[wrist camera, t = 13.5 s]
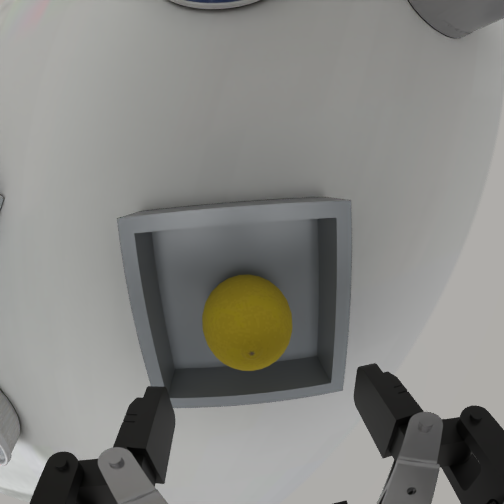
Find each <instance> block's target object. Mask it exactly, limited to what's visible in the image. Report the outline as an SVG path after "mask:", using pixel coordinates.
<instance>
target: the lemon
mask: <svg viewBox="0 0 504 504" xmlns="http://www.w3.org/2000/svg"><path fill="white" fill-rule="evenodd" d="M202 325H203V333H204V336H205V339H206V342H207V344H208V346H209V348H210V350H211V351H212V352H213V354H214V355H215V356H216V358H218V359H219V360H220V361H221V362H222V363H223V364H225V365H227V366H229V367H231V368H234V369H238V370H242V371H254V370H259V369H263V368H265V367H267V366H269V365H271V364H272V363H274V362H275V361H277V360H278V359H279V358H280V357H281V356H282V354H283V353H284V352H285V350H286V348H287V346H288V344H289V342H290V338H291V334H292V313H291V310H290V307H289V305H288V302H287V299H286V298H285V296H284V295H283V294H282V292H281V291H280V289H279V288H277V287H276V286H275V285H274V284H273V283H271V282H270V281H268V280H266V279H264V278H262V277H260V276H255V275H249V274H247V275H237V276H234V277H231V278H228V279H227V280H225V281H223V282H222V283H220V284H219V285H218V286H217V287H216V288H215V289H214V290H213V291H212V292H211V294H210V295H209V297H208V299H207V301H206V303H205V307H204V311H203V315H202Z"/></svg>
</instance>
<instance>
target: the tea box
mask: <svg viewBox="0 0 504 504" xmlns="http://www.w3.org/2000/svg"><path fill="white" fill-rule="evenodd" d="M3 200H4V198H3V197H2V196H1V195H0V209H1V206H2V203H3Z"/></svg>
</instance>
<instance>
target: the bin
mask: <svg viewBox="0 0 504 504" xmlns="http://www.w3.org/2000/svg"><path fill="white" fill-rule="evenodd" d="M117 223H118V231H119V239H120V246H121V253H122V259H123V266H124V272H125V277H126V283H127V288H128V294H129V299H130V304H131V309H132V313H133V318H134V323H135V327H136V331H137V335H138V340H139V344H140V348H141V352H142V355H143V359H144V363H145V367H146V370H147V374H148V377H149V381H150V384H151V386H158V387H166V388H167V391H168V394H169V397H170V401H171V404H172V407H173V408H198V407H221V406H236V405H248V404H258V403H268V402H276V401H284V400H291V399H298V398H304V397H310V396H316V395H322V394H327V393H333V392H338V391H342V390H343V383H344V374H345V365H346V355H347V344H348V331H349V316H350V297H351V268H352V212H351V200H345V199H337V198H330V197H312V198H291V199H273V200H257V201H243V202H230V203H217V204H206V205H195V206H184V207H174V208H165V209H155V210H146V211H139V212H136V213H133V214H130V215H126V216H123V217H120V218H117ZM247 274H249V275H255V276H260V277H262V278H264V279H266V280H268V281H270V282H271V283H273V284H274V285H275V286H276V287H277V288H279V289H280V291H281V292H282V294H283V295H284V296H285V298H286V299H287V302H288V305H289V307H290V310H291V313H292V334H291V338H290V342H289V344H288V346H287V348H286V350H285V352H284V353H283V354H282V356H281V357H280V358H279V359H278V360H277V361H275V362H274V363H272V364H271V365H269V366H267V367H265V368H263V369H259V370H254V371H242V370H238V369H234V368H231V367H229V366H227V365H225V364H223V363H222V362H221V361H220V360H219V359H218V358H216V356H215V355H214V354H213V352H212V351H211V350H210V348H209V346H208V344H207V342H206V339H205V336H204V333H203V325H202V315H203V311H204V307H205V303H206V301H207V299H208V297H209V295H210V294H211V292H212V291H213V290H214V289H215V288H216V287H217V286H218V285H219V284H220V283H222V282H223V281H225V280H227V279H228V278H231V277H234V276H237V275H247Z"/></svg>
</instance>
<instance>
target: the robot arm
mask: <svg viewBox="0 0 504 504" xmlns="http://www.w3.org/2000/svg"><path fill="white" fill-rule="evenodd" d="M409 2H410V3H411V4H412V6H413V7H414V9H415V10H416V11H417V12H418V13H419V14H420V16H421V17H422V18H423V19H424V20H426V21H427V22H428V23H429V24H430V25H431V26H432V27H434V28H435V29H437V30H438V31H440V32H441V33H443V34H445V35H447V36H449V37H453V38H461V37H464V36H466V35H468V34H470V33H472V32H474V31H476V30H478V29H480V28H482V27H485V26H487V25H489V24H491V23H494V22H496V21H498V20H500V19H503V18H504V0H409ZM354 402H355V405H356V408H357V410H358V411H359V413H360V415H361V417H362V419H363V421H364V423H365V425H366V427H367V429H368V431H369V432H370V434H371V436H372V438H373V440H374V442H375V444H376V446H377V448H378V450H379V452H380V454H381V456H382V458H386V457H389V456H393V458H394V462H393V464H392V467H391V470H390V473H389V475H388V478H387V481H386V483H385V486H384V488H383V491H382V493H381V495H380V498H379V500H378V502H377V504H431V502H432V498H433V495H434V491H435V486H436V482H437V478H438V473H439V468H440V467H442V469H443V471H444V473H445V475H446V476H447V478H448V480H449V482H450V484H451V485H452V487H453V489H454V491H455V493H456V495H457V497H458V498H459V500H460V502H461V504H504V430H503V429H502V427H501V426H500V425H499V424H498V423H497V421H496V420H495V419H494V418H493V417H492V416H491V414H490V413H489V412H488V411H487V410H486V409H485V408H483V407H480V406H470V407H467V408H465V409H464V410H463V411H462V413H461V415H460V417H458V418H451V419H441V418H440V417H439V416H438V415H436V414H434V413H431V412H423V410H422V409H421V408H420V406H419V405H418V404H417V402H416V401H415V400H414V398H413V397H412V396H411V395H410V393H409V392H407V389H406V388H405V387H404V386H403V385H402V383H401V382H400V381H399V379H398V378H397V377H396V376H394V375H392V374H391V373H389V372H384V373H383V372H382V371H381V369H380V368H379V367H378V365H377V364H375V363H374V364H369V365H365V366H360V367H358V369H357V375H356V382H355V389H354ZM123 421H124V422H123V423H122V425H121V428H120V430H119V433H118V436H117V438H116V441H115V444H114V446H113V448H110V449H107V450H105V451H104V452H103V453H101V455H100V456H99V458H98V459H92V460H81V461H78V460H77V458H76V457H75V456H74V455H73V454H71V453H69V452H58V453H55V454H54V455H52V456H51V457H50V458H49V459H48V461H47V463H46V465H45V468H44V470H43V472H42V474H41V477H40V479H39V482H38V484H37V486H36V489H35V491H34V494H33V496H32V499H31V501H30V504H168V503H167V502H166V500H165V499H164V498H163V497H162V495H161V494H160V493H159V491H158V490H157V489H156V488H155V483H160V484H164V483H165V477H166V472H167V466H168V460H169V455H170V449H171V444H172V439H173V433H174V428H175V414H174V410H173V407H172V404H171V401H170V397H169V394H168V391H167V388H166V387H158V386H148V387H147V389H146V392H145V394H144V397H143V398H136V399H135V400H134V401H133V402H132V403H131V404H130V405H129V407H128V410H127V412H126V415H125V418H124V420H123ZM476 458H477V459H476ZM478 461H479V462H478ZM334 504H347V501H342V502H338V503H334Z"/></svg>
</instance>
